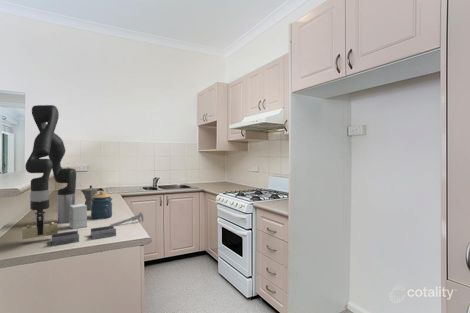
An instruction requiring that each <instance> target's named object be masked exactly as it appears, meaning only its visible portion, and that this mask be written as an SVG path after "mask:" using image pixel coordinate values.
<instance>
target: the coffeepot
mask: <svg viewBox="0 0 470 313" xmlns="http://www.w3.org/2000/svg"><path fill="white" fill-rule="evenodd" d="M100 191H103V192H104V191H105V190H104V189H103V188H102V187H99V188H96V187H95V188H94V187H93V185H89V188H84V189H81V190H80V192H81V193H82V194H83V196H84V199H85V201H84V205H86V206H87V212H88V211H90V212H91V204H92V201H91V200H92V199H93V197H92V196H94V195H95V194H98V192H100ZM104 193H105V192H104Z"/></svg>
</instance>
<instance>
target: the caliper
mask: <svg viewBox="0 0 470 313" xmlns="http://www.w3.org/2000/svg"><path fill="white" fill-rule="evenodd" d="M136 220H137V222H139V223H141V222H144V214H143V213H142V211H140V212H139V213H138V214H136V215H133V216H131V217H129V218H127V219H123V220H120V221H117V222H113V223H110V224H109V226H114V227H116V226H118V225H121V224H122V225H123V224H124V223H129V222H134V221H136Z"/></svg>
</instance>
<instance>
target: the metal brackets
mask: <svg viewBox="0 0 470 313" xmlns="http://www.w3.org/2000/svg"><path fill="white" fill-rule="evenodd" d="M90 236H91V237H90V238H91V240H96V239H97V240H98V239H102V238H103V239H104V238H110V237H114V236H117V228H116V227H115V226H110V225H106V226H99V227H93V228H90ZM78 242H80V233H79V231H78V229H77V230H71V231H64V232H58V233H56V234H52V235H51V246H52V247H53V246H59V245H66V244H72V243H78Z"/></svg>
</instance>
